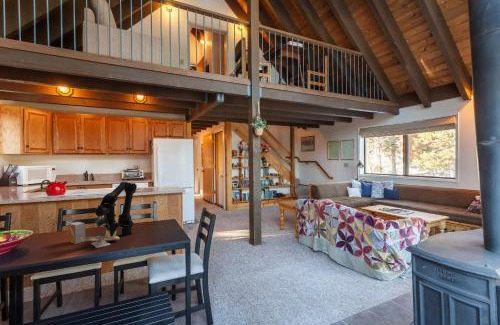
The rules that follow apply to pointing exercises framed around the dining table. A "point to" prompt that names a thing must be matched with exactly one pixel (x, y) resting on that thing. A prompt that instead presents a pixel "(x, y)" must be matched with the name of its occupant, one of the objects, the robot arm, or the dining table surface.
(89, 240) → the beam
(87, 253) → the dining table surface
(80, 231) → the small box
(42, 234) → the dining table surface
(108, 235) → the wooden block
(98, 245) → the pivot stand
